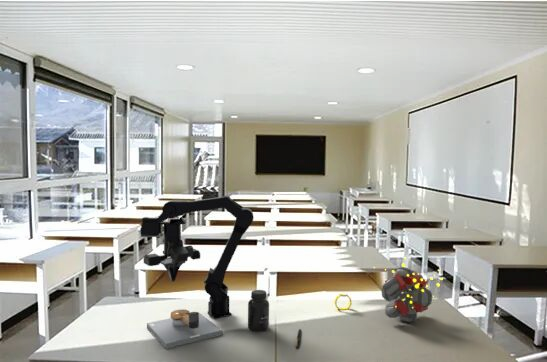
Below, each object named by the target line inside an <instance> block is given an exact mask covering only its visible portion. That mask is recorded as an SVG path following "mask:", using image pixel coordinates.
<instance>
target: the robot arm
mask: <svg viewBox="0 0 547 362" xmlns="http://www.w3.org/2000/svg"><path fill="white" fill-rule="evenodd" d="M222 208H223V209H225V211H227V212H229V213H230V214H231V215H232V216H233V217H234V218H235V221H234V225H233V229H232V231H231V234H230V236H229V238H228V240H227V242H226V245H225V247H224V249H223V251H222V254H220V255H221V256H220V257H219V260H218V262H217V264H216V266H215V267H214V268H211V267H210V268H209V271H208V273H207V275H206V276H205V278H204V282H203V283H204V290H205V292H206V293H207V295H209V301H208V302H207V303H208V306H207V307H208V308H207V309H208V310H207V314H208V315H210V316H211V317H212V318H214V319H219V318H223V317H227V316H232V315H233V314H232V312H230V296H229V295H228V293H229V291H228V290H229V287H228V286H227V285H226V284H225V283H224V280H225V276H226V273H227V270H228V267H229V265H230V263H231V260H233V257H234V254H235V252H236V250H237V248H238V246H239V244H240V241H241V239H242V237H243V236H244V234H245V233H246V232H247V230H249V228H250V226H251V225H252V224H253V221H254V213H253V210H252V209H250V208H249V207H245V206H244V207H243V205H241V204H240V203H238V202H237V201H235V200H234V199H232V198H231V197H230V195H229V196H228V195H223V196H219V197H218V196H217V197H211V198H203V199H195V200H185V199H184V200H183V199H181V200H180V199H171V200H169V201H167V202H166V203H164V204H163V206H162V212H161V213H160V215H158V217H147V216H144V217H142V219H141V225H140V230H139V231H140V237H141V238H159V237H160V235H162V234H163V238H162V243H163V250H162V254H163V255H162V254H161V255H159V254H157V253H148V254H145V255H144V256H143V264H144V265H147V266H148V267H154V266H159V265H160V264H161V265H163V266H164V268H165V270H166V272H167V274H168V277H169V279H170V281H171V282H173V283H174V282H175V281H176V278H177V276H178V272H179V271H180V268H181V266H182V265H183V264H186V262H187V261H188V260H189V259H188V258H190V259H191V260H193V261H194V260H199V259H201V252H200V250H198V249H196V248H194V247H193V246H192V245H185V246H184V242H183V239H182V229H181V228H182V226H181V225H185V224H186V223H187V220H185V219H184V218H183V216H184V215H186V214H190V213H195V212H203V211H210V210H216V209H222ZM178 217H179V218H178ZM167 219H170V220H169V221H166V220H167Z"/></svg>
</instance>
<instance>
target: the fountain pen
mask: <svg viewBox="0 0 547 362" xmlns="http://www.w3.org/2000/svg"><path fill="white" fill-rule="evenodd" d="M301 336H302V329H301V328H299V329H298V331H297V337H296V340H295V348H296V349H298V348H299V347H300V344H301Z"/></svg>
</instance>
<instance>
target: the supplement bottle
mask: <svg viewBox="0 0 547 362" xmlns="http://www.w3.org/2000/svg"><path fill="white" fill-rule="evenodd" d="M250 293H251V294H250V298H251V299H249V301H248V302H247V329H248V330H249V331H251V332H253V333H263V332H266V331H268V330H269V328H270V327H269V326H270V302H269V300H268V299H267V291H266V290H263V289H255V290H252V291H251V292H250Z"/></svg>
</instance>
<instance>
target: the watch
mask: <svg viewBox="0 0 547 362" xmlns="http://www.w3.org/2000/svg"><path fill="white" fill-rule="evenodd" d="M341 297H344V298H345V297H346V298H348V299H349V300H348V301H349V303H348V305H347V306H346V307H339V306H338V305H337V302H338V299H339V298H341ZM352 303H353V302H352V298H351V297H350V296H349V295H348V293H346V292H339V294H338V295H336V296H335V299H334V305H335V307H336V309H337V310H338V311H343V310H344V311H348V310H349V309H350V308H351V306H352Z"/></svg>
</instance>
